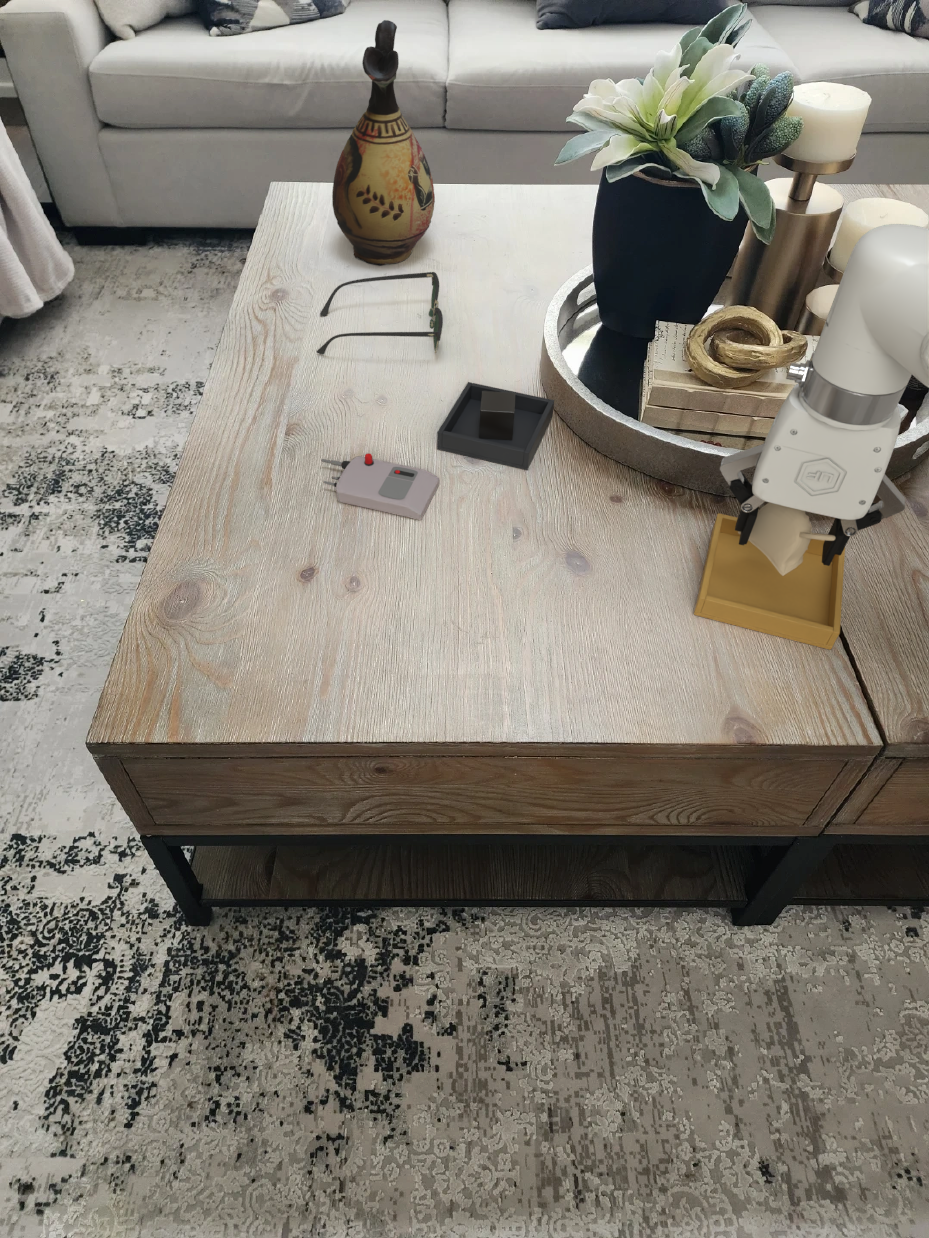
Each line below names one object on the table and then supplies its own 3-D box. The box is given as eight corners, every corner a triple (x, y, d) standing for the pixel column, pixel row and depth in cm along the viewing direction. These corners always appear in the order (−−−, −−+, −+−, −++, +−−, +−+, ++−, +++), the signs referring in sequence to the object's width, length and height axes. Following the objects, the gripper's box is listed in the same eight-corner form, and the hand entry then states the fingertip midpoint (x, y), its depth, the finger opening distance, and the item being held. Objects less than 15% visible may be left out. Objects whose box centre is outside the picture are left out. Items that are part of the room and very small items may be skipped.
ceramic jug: (433, 276, 129) (432, 46, 107) (331, 273, 129) (309, 43, 106) (436, 227, 140) (436, 10, 118) (343, 224, 140) (325, 6, 118)
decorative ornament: (768, 520, 86) (784, 479, 82) (824, 574, 82) (844, 533, 78) (736, 532, 85) (751, 490, 81) (791, 586, 80) (809, 546, 76)
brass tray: (837, 559, 90) (845, 542, 88) (830, 650, 81) (840, 633, 79) (712, 530, 92) (717, 512, 90) (693, 614, 84) (699, 597, 82)
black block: (513, 420, 104) (515, 392, 101) (512, 440, 101) (514, 412, 98) (480, 418, 104) (482, 390, 101) (479, 438, 101) (480, 410, 98)
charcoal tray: (552, 417, 105) (554, 400, 104) (527, 470, 98) (529, 453, 97) (467, 398, 108) (468, 381, 106) (437, 449, 101) (437, 432, 99)
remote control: (436, 524, 92) (436, 503, 90) (303, 495, 95) (300, 473, 92) (455, 487, 96) (455, 466, 94) (327, 459, 99) (324, 438, 97)
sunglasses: (321, 305, 123) (317, 271, 119) (438, 303, 124) (438, 270, 120) (315, 367, 112) (311, 333, 108) (443, 365, 113) (444, 331, 109)
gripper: (738, 391, 69) (689, 549, 82) (966, 438, 65) (876, 595, 78) (748, 345, 73) (700, 501, 87) (962, 386, 70) (877, 542, 83)
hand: (784, 544), depth 82 cm, fingers closed on decorative ornament, 7 cm apart
